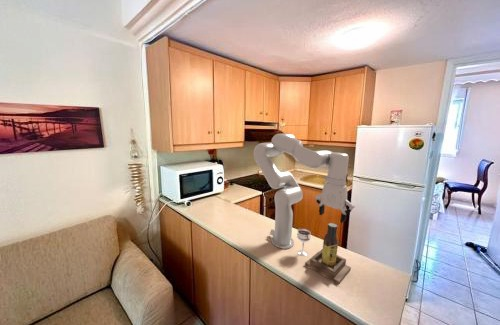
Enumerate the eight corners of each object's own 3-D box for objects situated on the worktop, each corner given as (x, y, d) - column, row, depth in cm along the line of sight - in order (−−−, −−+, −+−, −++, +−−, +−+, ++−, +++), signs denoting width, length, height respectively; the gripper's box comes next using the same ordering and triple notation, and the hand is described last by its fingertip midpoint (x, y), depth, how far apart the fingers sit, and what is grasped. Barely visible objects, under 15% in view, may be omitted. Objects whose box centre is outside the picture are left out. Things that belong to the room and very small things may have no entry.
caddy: (304, 265, 96) (305, 256, 95) (318, 254, 105) (319, 246, 104) (338, 284, 85) (339, 275, 84) (350, 270, 93) (351, 261, 93)
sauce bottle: (330, 271, 90) (334, 230, 87) (318, 263, 95) (321, 224, 92) (338, 265, 94) (342, 226, 91) (326, 258, 99) (330, 220, 96)
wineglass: (296, 248, 110) (298, 227, 108) (309, 251, 107) (311, 230, 105) (294, 255, 103) (296, 233, 101) (308, 258, 101) (310, 236, 99)
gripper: (313, 178, 91) (310, 213, 94) (353, 187, 79) (348, 228, 82) (321, 175, 96) (317, 209, 99) (360, 184, 84) (355, 222, 87)
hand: (331, 217), depth 91 cm, fingers open, 9 cm apart
